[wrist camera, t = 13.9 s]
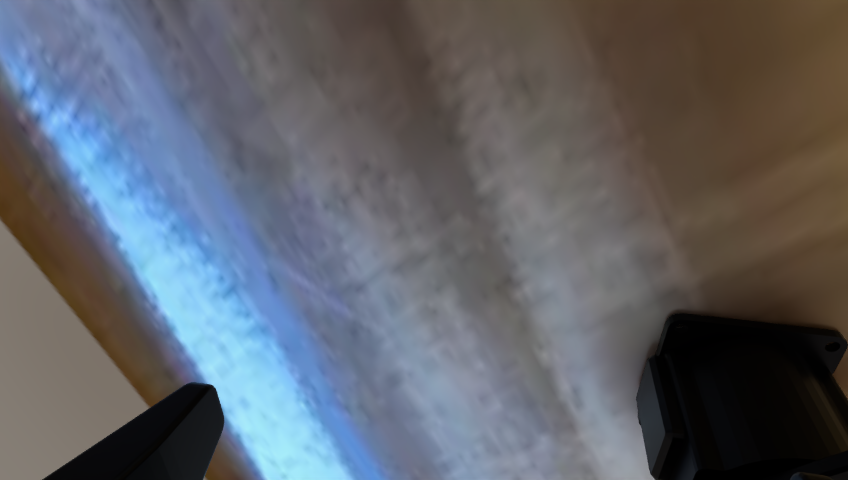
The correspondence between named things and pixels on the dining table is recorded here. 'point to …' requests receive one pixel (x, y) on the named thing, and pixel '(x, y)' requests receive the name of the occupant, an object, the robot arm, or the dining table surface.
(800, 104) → the dining table surface
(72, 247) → the dining table surface
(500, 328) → the dining table surface
